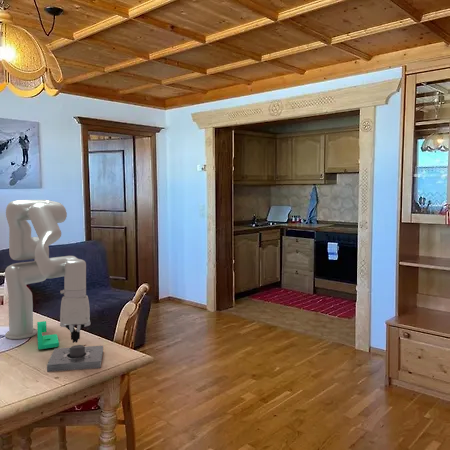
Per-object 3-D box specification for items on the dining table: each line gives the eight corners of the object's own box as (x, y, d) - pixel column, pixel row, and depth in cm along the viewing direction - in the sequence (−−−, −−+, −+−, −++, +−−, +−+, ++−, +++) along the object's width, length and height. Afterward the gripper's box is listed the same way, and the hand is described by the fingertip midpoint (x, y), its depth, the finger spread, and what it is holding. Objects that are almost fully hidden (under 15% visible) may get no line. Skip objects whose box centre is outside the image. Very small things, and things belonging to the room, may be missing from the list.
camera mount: (59, 349, 177) (58, 324, 176) (38, 352, 174) (37, 326, 173) (57, 339, 188) (56, 316, 187) (37, 342, 185) (36, 318, 184)
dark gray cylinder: (70, 358, 167) (70, 345, 167) (85, 357, 168) (85, 344, 168) (69, 364, 162) (68, 350, 161) (84, 362, 163) (84, 349, 163)
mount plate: (54, 354, 170) (54, 348, 170) (103, 351, 174) (103, 345, 174) (47, 371, 155) (47, 364, 155) (100, 367, 159) (100, 361, 158)
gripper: (52, 296, 157) (52, 346, 159) (95, 295, 160) (95, 344, 162) (55, 290, 165) (55, 338, 166) (97, 290, 168) (97, 336, 170)
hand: (75, 341), depth 164 cm, fingers closed
